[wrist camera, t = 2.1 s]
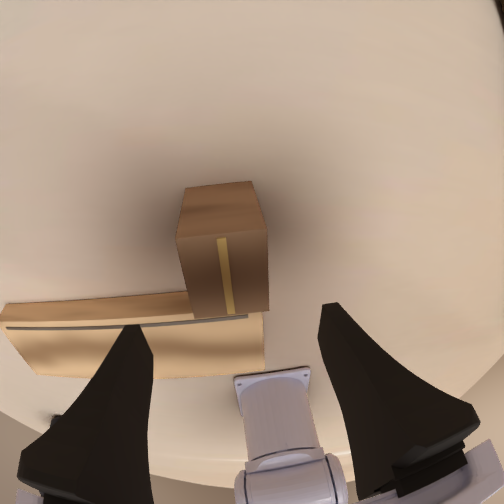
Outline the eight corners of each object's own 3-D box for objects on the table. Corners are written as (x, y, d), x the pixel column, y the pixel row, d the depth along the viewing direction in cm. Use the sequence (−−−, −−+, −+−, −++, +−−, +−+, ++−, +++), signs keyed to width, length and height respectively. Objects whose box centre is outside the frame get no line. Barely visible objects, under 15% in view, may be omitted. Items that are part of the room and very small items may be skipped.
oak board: (261, 349, 27) (264, 370, 25) (42, 357, 25) (36, 375, 23) (257, 283, 22) (262, 306, 20) (6, 304, 21) (-5, 322, 19)
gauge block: (256, 272, 22) (270, 336, 17) (201, 278, 22) (200, 343, 17) (251, 180, 18) (267, 229, 13) (185, 188, 18) (175, 239, 13)
